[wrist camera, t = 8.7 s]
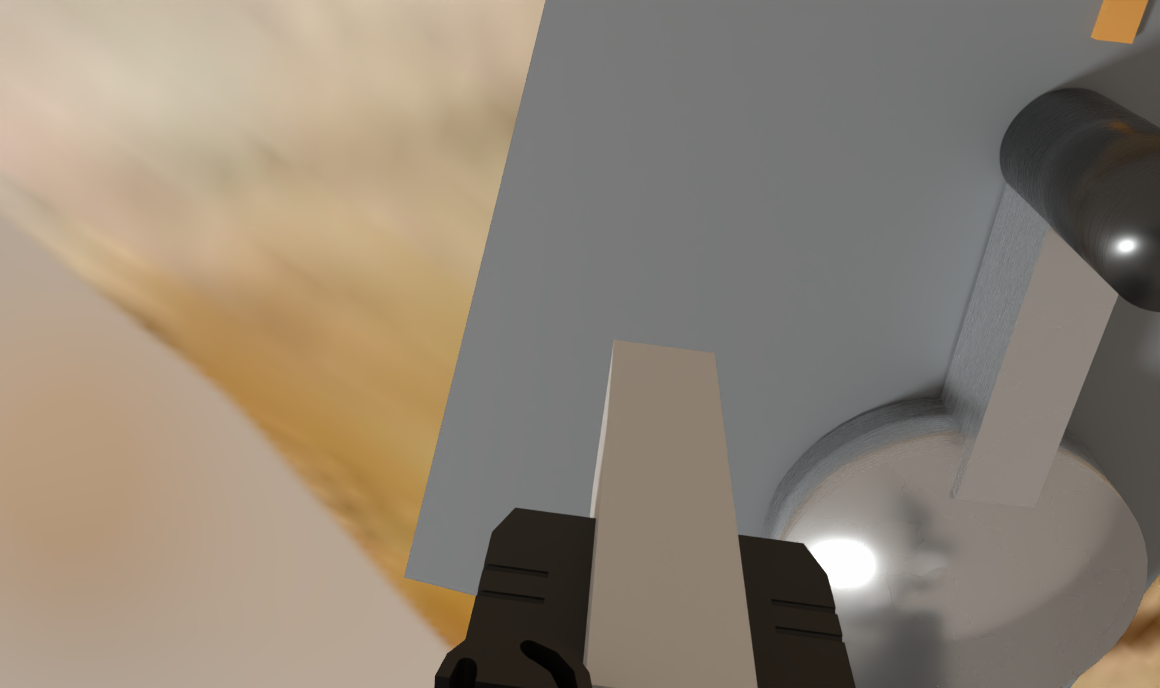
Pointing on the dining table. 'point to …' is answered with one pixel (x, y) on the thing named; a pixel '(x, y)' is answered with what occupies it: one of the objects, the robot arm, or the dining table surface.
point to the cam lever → (1000, 438)
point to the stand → (765, 237)
